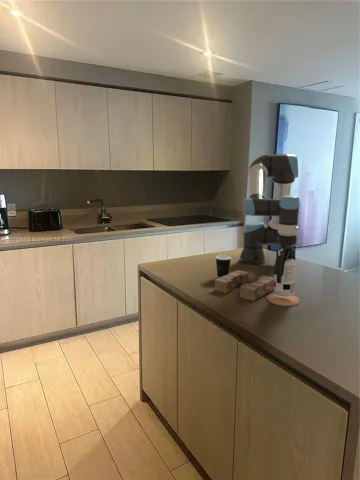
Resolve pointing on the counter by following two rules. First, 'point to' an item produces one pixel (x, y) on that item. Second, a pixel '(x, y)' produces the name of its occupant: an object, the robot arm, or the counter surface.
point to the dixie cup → (222, 265)
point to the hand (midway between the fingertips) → (283, 287)
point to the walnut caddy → (245, 284)
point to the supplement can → (287, 279)
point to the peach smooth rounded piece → (283, 300)
